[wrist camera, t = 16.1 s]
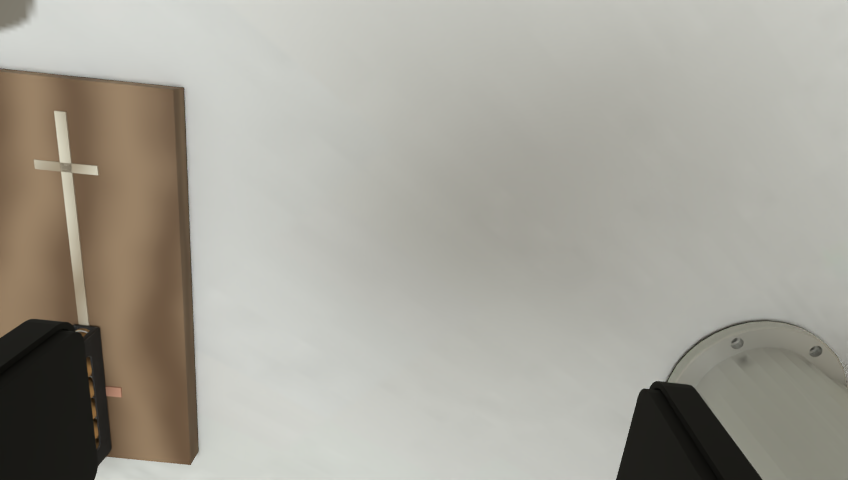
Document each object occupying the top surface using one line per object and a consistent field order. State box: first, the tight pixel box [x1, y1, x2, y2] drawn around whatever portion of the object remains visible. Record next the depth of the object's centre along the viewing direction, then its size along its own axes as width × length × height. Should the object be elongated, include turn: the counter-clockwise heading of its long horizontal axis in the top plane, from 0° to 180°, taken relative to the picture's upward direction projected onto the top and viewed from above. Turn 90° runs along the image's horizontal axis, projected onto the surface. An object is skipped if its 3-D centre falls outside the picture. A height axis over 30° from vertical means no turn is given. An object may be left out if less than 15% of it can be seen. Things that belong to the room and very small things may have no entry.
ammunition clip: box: [73, 324, 111, 465], centre depth 35 cm, size 11×2×12 cm, turn 174°
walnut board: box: [0, 69, 198, 465], centre depth 39 cm, size 14×28×2 cm, turn 174°
